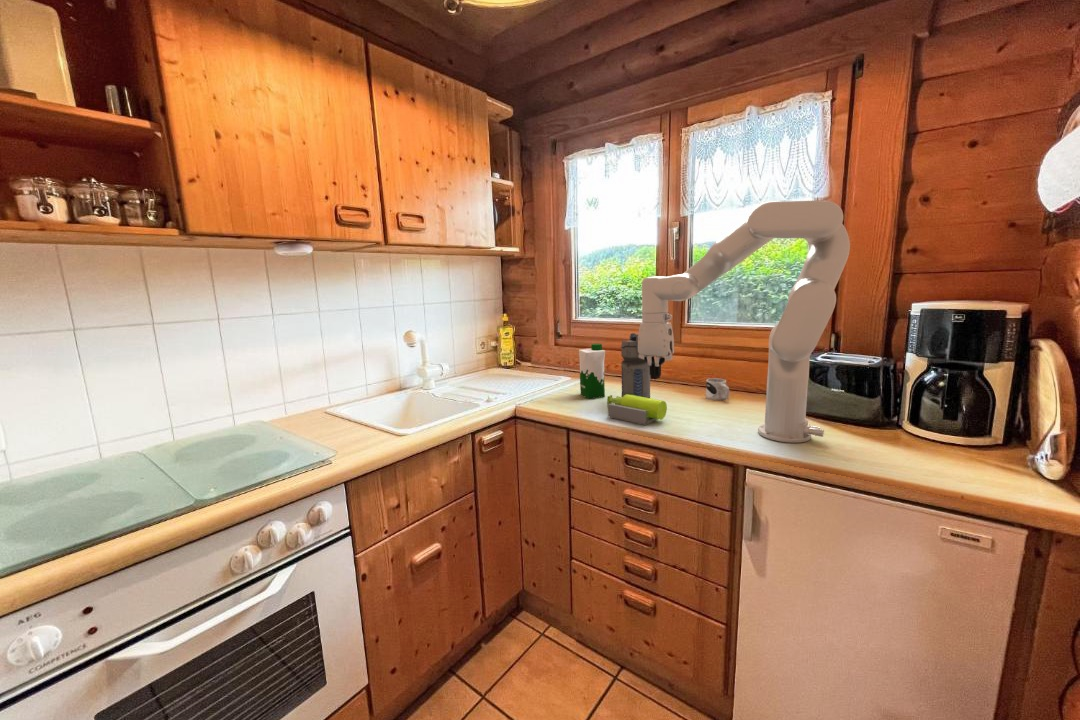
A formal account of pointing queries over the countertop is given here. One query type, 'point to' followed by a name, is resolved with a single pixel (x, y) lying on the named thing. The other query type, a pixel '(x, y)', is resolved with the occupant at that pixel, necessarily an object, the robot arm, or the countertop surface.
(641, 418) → the cradle
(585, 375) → the soya milk
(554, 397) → the countertop surface
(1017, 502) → the countertop surface
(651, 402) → the soap dispenser
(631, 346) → the beverage bottle
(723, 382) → the mug
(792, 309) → the robot arm
